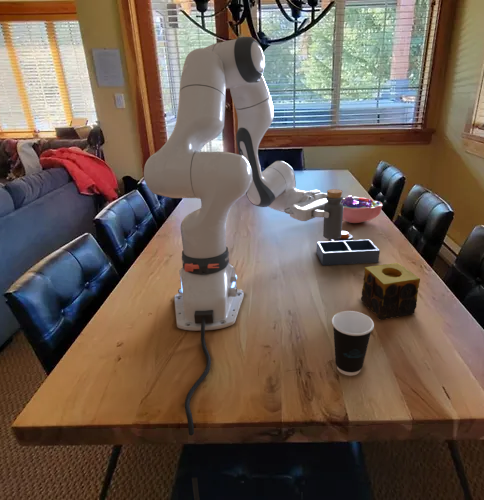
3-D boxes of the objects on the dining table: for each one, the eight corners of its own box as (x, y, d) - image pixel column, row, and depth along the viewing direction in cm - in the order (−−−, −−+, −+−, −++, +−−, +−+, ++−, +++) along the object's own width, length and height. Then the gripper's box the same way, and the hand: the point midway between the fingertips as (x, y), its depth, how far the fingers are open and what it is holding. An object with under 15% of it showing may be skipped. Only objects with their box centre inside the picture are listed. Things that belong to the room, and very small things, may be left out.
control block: (357, 248, 131) (358, 240, 130) (335, 249, 131) (335, 241, 129) (349, 238, 140) (350, 230, 139) (328, 239, 140) (329, 231, 139)
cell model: (386, 228, 150) (389, 200, 145) (336, 229, 150) (337, 201, 145) (374, 214, 165) (377, 189, 161) (329, 215, 165) (331, 190, 161)
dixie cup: (349, 387, 71) (354, 339, 66) (320, 364, 77) (323, 319, 72) (377, 370, 75) (382, 324, 71) (347, 349, 81) (351, 306, 76)
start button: (349, 238, 133) (350, 234, 132) (339, 239, 133) (340, 234, 132) (346, 235, 136) (347, 230, 135) (337, 235, 136) (337, 231, 135)
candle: (379, 321, 90) (383, 285, 86) (359, 300, 99) (362, 266, 95) (416, 314, 93) (422, 278, 89) (393, 294, 102) (397, 261, 98)
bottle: (329, 231, 125) (331, 187, 119) (344, 235, 122) (347, 190, 115) (319, 236, 121) (321, 191, 115) (335, 241, 117) (338, 194, 111)
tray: (378, 262, 121) (379, 250, 119) (322, 265, 119) (322, 253, 118) (368, 250, 129) (369, 239, 128) (316, 253, 128) (316, 241, 126)
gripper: (281, 201, 118) (316, 210, 109) (319, 188, 131) (354, 195, 123) (281, 220, 120) (315, 230, 112) (319, 206, 134) (352, 214, 125)
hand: (336, 212), depth 117 cm, fingers closed on bottle, 6 cm apart
